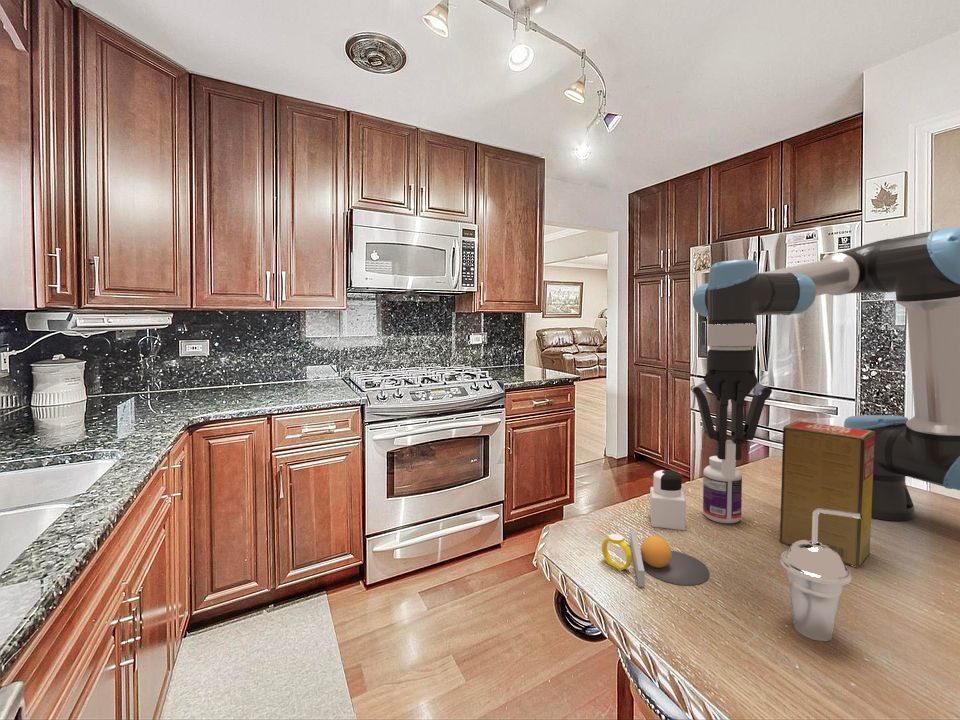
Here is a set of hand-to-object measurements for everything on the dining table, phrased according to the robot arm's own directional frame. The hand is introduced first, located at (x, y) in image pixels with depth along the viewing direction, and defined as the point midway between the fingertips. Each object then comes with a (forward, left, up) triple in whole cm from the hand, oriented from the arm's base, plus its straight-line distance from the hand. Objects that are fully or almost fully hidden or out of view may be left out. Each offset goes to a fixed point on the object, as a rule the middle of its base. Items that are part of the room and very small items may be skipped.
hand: (728, 476), depth 79 cm
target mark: (+9, 0, -18) cm, 20 cm away
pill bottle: (-6, -25, -19) cm, 32 cm away
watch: (+20, +2, -19) cm, 27 cm away
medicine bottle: (+7, -20, -19) cm, 28 cm away
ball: (+12, 0, -16) cm, 20 cm away
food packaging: (-22, -14, -19) cm, 32 cm away
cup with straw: (-8, +14, -19) cm, 25 cm away
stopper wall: (+16, 0, -18) cm, 24 cm away
